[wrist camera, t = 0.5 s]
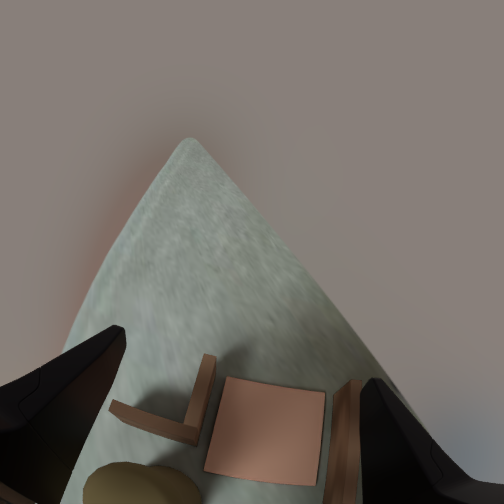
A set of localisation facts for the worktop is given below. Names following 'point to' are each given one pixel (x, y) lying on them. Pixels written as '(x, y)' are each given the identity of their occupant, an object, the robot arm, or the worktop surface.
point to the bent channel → (341, 443)
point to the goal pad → (267, 433)
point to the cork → (139, 485)
